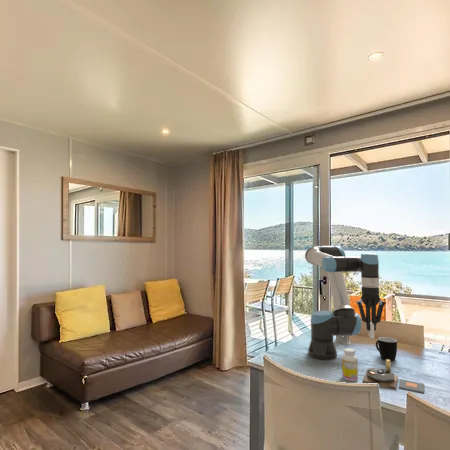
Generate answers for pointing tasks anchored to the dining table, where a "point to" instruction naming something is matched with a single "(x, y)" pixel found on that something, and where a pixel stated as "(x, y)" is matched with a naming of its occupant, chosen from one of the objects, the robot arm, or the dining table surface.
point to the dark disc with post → (381, 373)
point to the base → (383, 384)
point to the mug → (387, 348)
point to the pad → (411, 386)
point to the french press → (342, 340)
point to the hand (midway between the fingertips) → (371, 337)
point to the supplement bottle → (350, 365)
